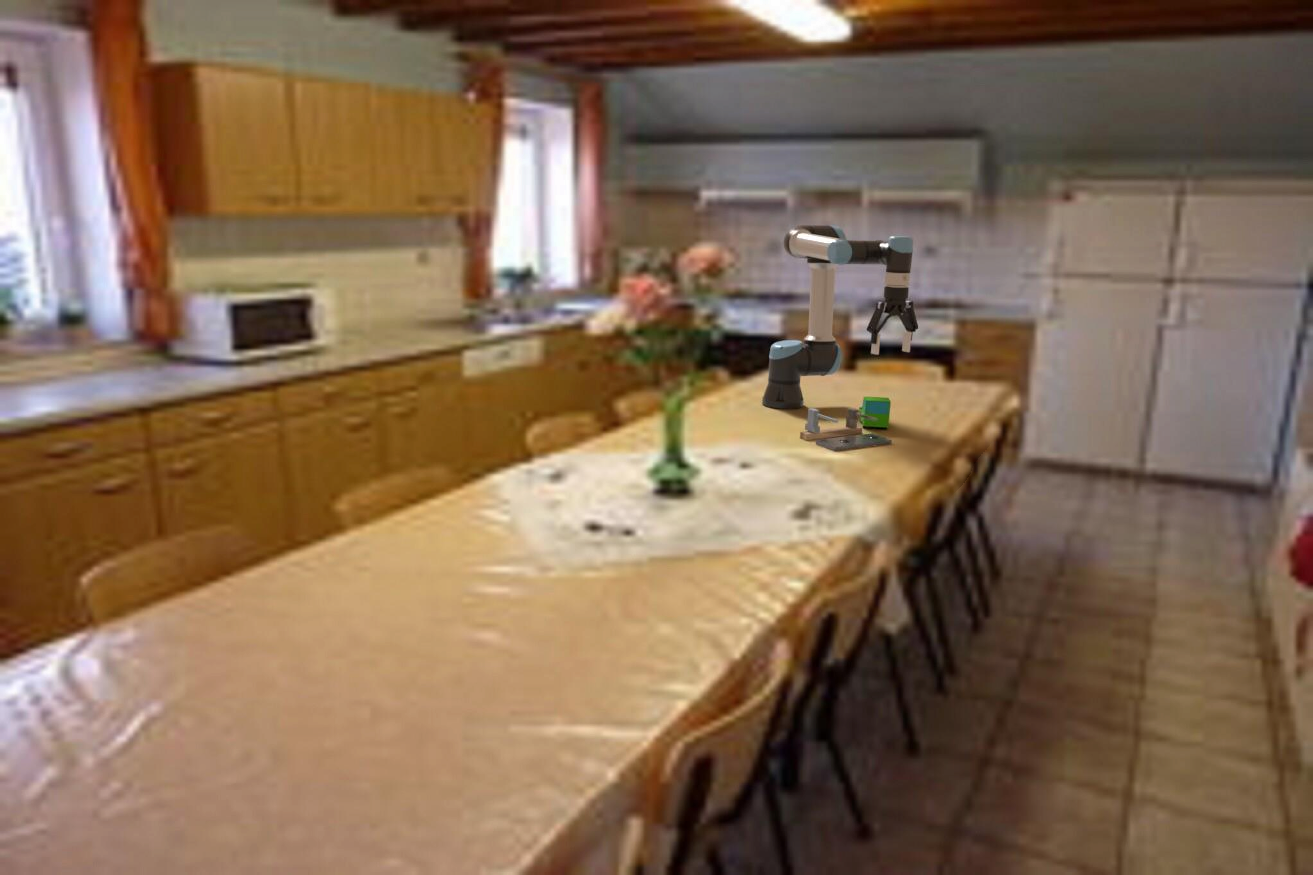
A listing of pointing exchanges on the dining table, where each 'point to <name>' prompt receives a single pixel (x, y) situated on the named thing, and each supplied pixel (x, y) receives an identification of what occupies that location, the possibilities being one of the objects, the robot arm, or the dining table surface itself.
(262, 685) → the dining table surface
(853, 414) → the rail
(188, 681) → the dining table surface
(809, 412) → the grey hammer
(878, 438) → the hole plate
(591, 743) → the dining table surface
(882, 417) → the green box
